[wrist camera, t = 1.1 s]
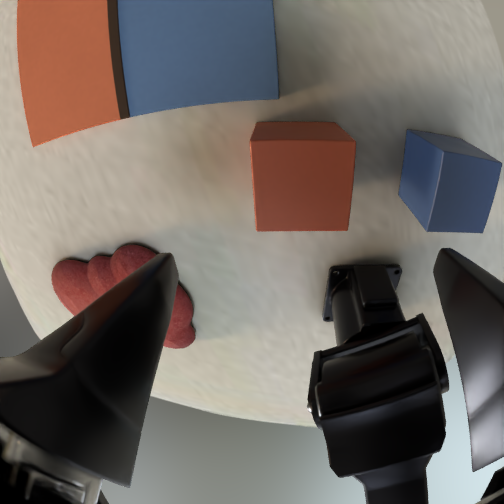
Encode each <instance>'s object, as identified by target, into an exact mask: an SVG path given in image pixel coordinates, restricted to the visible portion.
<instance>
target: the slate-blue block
mask: <svg viewBox="0 0 504 504" xmlns="http://www.w3.org/2000/svg"><path fill="white" fill-rule="evenodd" d="M501 167H502V163H501V162H500V161H498V160H496V159H495V158H493V157H492V156H490V155H489V154H487V153H485V152H484V151H482V150H480V149H479V148H477V147H475V146H473V145H472V144H470V143H468V142H466V141H465V140H463V139H460V138H455V137H450V136H445V135H440V134H435V133H429V132H423V131H417V130H410V129H407V133H406V143H405V152H404V160H403V168H402V175H401V182H400V188H399V194H398V195H399V196H400V198H401V199H402V200H403V201H404V203H405V204H406V205H407V206H408V208H409V209H410V210H411V212H412V213H413V214H414V216H415V217H416V218H417V219H418V221H419V222H420V224H421V225H422V226H423V228H424V229H425V230H426V231H427V232H463V233H483V231H484V228H485V225H486V222H487V219H488V216H489V213H490V210H491V206H492V203H493V199H494V196H495V192H496V188H497V184H498V180H499V176H500V172H501Z"/></svg>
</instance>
